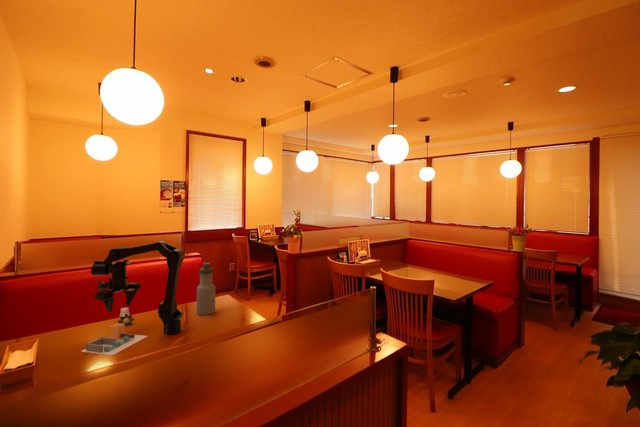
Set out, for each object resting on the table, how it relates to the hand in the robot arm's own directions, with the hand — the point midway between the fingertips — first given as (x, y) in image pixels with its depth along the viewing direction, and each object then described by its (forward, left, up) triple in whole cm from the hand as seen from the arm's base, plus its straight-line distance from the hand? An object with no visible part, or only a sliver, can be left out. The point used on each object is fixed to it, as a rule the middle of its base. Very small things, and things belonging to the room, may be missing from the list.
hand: (119, 309), depth 134 cm
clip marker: (-9, +8, -11) cm, 17 cm away
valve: (+10, -13, -13) cm, 21 cm away
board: (-7, +8, -12) cm, 16 cm away
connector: (-5, +3, -11) cm, 13 cm away
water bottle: (-20, -37, -13) cm, 44 cm away
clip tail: (-9, +13, -11) cm, 19 cm away
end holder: (-5, +13, -11) cm, 18 cm away
